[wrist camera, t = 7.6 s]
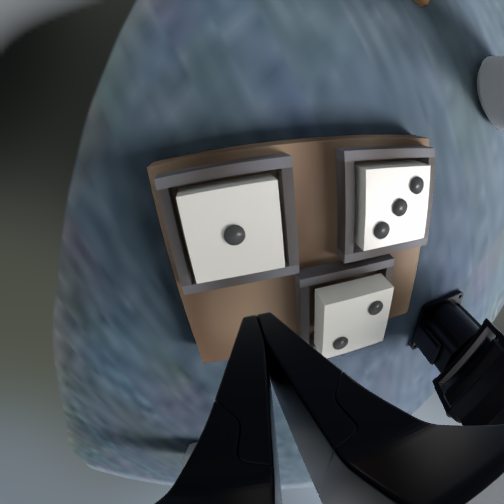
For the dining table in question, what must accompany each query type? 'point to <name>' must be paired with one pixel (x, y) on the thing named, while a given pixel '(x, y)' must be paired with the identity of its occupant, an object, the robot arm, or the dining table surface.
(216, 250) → the tile one
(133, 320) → the dining table surface
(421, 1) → the figurine on base
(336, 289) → the tile two
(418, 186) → the tile three
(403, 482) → the robot arm
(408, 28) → the dining table surface
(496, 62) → the can
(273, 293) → the board
